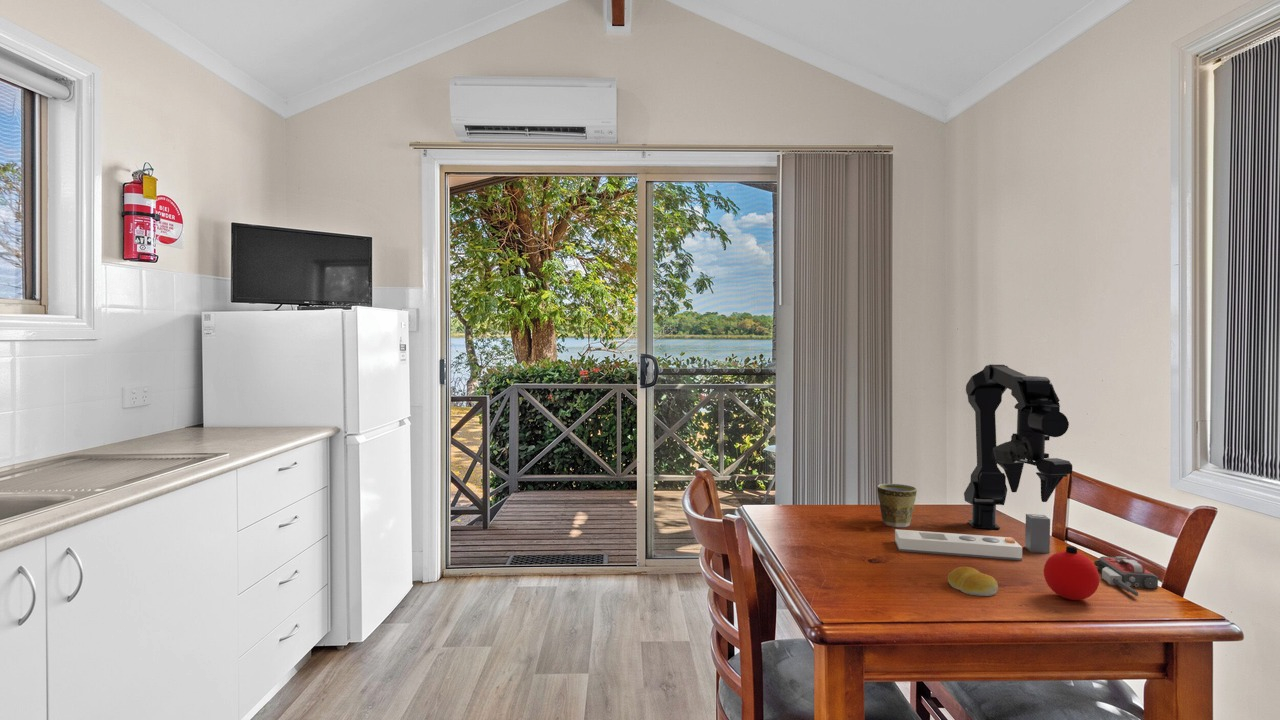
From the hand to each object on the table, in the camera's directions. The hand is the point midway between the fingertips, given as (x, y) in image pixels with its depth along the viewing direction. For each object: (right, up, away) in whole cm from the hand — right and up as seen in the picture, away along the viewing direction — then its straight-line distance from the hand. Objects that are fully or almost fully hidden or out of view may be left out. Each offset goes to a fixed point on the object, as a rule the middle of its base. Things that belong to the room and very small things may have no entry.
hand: (1028, 496), depth 157 cm
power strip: (-16, -13, +1) cm, 21 cm away
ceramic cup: (-21, -13, +26) cm, 36 cm away
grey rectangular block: (+3, -13, +2) cm, 14 cm away
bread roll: (-25, -14, -23) cm, 37 cm away
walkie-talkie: (+9, -14, -20) cm, 26 cm away
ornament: (-9, -14, -29) cm, 33 cm away
